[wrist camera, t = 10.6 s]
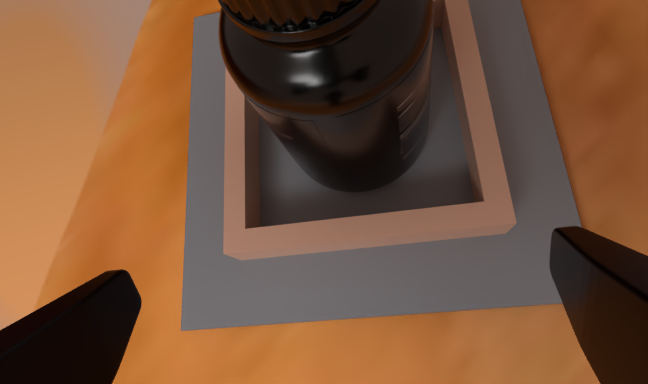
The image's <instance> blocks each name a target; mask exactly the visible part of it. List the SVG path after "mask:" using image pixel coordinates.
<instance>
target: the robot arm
mask: <svg viewBox="0 0 648 384" xmlns="http://www.w3.org/2000/svg"><path fill="white" fill-rule="evenodd" d="M549 267H550V272H551V276H552V278H553V281H554V283H555V286H556V288H557V291H558V293H559V295H560V298H561V300H562V303H563V305H564V308H565V310H566V313H567V315H568V318H569V320H570V323H571V325H572V328H573V330H574V332H575V335H576V337H577V339H578V342H579V344H580V346H581V348H582V350H583V352H584V354H585V356H586V358H587V360H588V362H589V363H590V365H591V367H592V369H593V371H594V373H595V374H596V376H597V378H598V380H599V382H600V383H601V384H648V256H646V255H644V254H642V253H639V252H637V251H635V250H632V249H630V248H628V247H626V246H623V245H621V244H619V243H616V242H614V241H612V240H609V239H607V238H605V237H602V236H600V235H598V234H595V233H593V232H591V231H589V230H586V229H584V228H582V227H579V226H568V227H558V228H555V229H554V230H553V232H552V234H551V246H550V260H549ZM140 309H141V297H140V294H139V292H138V290H137V288H136V286H135V284H134V282H133V280H132V278H131V276H130V274H129V273H128V272H127V271H126V270H111V271H106V272H104V273H102V274H101V275H99V276H97V277H95V278H93V279H92V280H90V281H88V282H86V283H84V284H83V285H81V286H79V287H77V288H75V289H74V290H72V291H70V292H68V293H66V294H65V295H63V296H61V297H59V298H57V299H56V300H54V301H52V302H50V303H49V304H47V305H45V306H43V307H41V308H40V309H38V310H36V311H34V312H32V313H31V314H29V315H27V316H25V317H23V318H22V319H20V320H18V321H16V322H15V323H13V324H11V325H9V326H7V327H6V328H4V329H2V330H0V384H112V383H113V380H114V378H115V376H116V374H117V371H118V369H119V367H120V364H121V361H122V359H123V356H124V353H125V350H126V348H127V345H128V342H129V339H130V337H131V334H132V331H133V328H134V326H135V323H136V320H137V317H138V315H139V312H140Z"/></svg>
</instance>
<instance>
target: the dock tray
mask: <svg viewBox="0 0 648 384" xmlns="http://www.w3.org/2000/svg"><path fill="white" fill-rule="evenodd" d="M433 9H434V23H433V46H432V69H431V91H430V114H429V126H428V133H427V138H426V141H425V145H424V147H423V149H422V152H421V153H420V155H419V157H418V158H417V160H416V161H415V163H414V164H413V165H412V166H411V167H410V169H408V170H407V171H406V172H405V173H404V174H403V175H402V176H401V177H399V178H398V179H396V180H395V181H393V182H392V183H390V184H388V185H386V186H383V187H381V188H378V189H375V190H371V191H366V192H342V191H337V190H333V189H330V188H328V187H325V186H323V185H321V184H319V183H318V182H316V181H314V180H313V179H312V178H311V177H309V176H308V175H307V174H306V173H305V172H304V171H303V170H302V169H301V167H300V166H299V165H298V164H297V163H296V161H295V160H294V159H293V158H292V156H291V155H290V154H289V152H288V151H287V150H286V149H285V147H284V146H283V145H282V143H281V142H280V141H279V140H278V138H277V137H276V136H275V134H274V133H273V132H272V131H271V129H270V128H269V127H268V125H267V124H266V123H265V122H264V120H263V119H262V118H261V116H260V115H259V114H258V113H257V111H256V110H255V109H254V107H253V106H252V105H251V104H250V102H249V101H248V100H247V98H246V97H245V96H244V94H243V93H242V92H241V91H240V89H239V88H238V86H237V85H236V83H235V82H234V80H233V79H232V77H231V76H230V74H229V72H228V70H227V68H226V66H225V64H224V61H223V58H222V55H221V50H220V45H219V17H220V12H218V13H213V14H209V15H204V16H199V17H194V32H193V55H192V79H191V103H190V127H189V151H188V175H187V198H186V222H185V246H184V270H183V294H182V318H181V331H185V330H200V329H214V328H228V327H242V326H255V325H269V324H283V323H297V322H311V321H325V320H339V319H353V318H367V317H380V316H394V315H408V314H422V313H436V312H450V311H464V310H478V309H491V308H505V307H519V306H533V305H547V304H561V303H562V300H561V298H560V295H559V293H558V291H557V288H556V286H555V283H554V281H553V278H552V276H551V272H550V267H549V260H550V246H551V234H552V232H553V230H554V229H555V228H558V227H568V226H579V227H582V226H581V222H580V219H579V215H578V211H577V207H576V204H575V200H574V196H573V193H572V189H571V185H570V182H569V178H568V174H567V170H566V167H565V163H564V159H563V156H562V152H561V148H560V145H559V141H558V137H557V133H556V130H555V126H554V122H553V119H552V115H551V111H550V107H549V104H548V100H547V96H546V93H545V89H544V85H543V82H542V78H541V74H540V70H539V67H538V63H537V59H536V56H535V52H534V48H533V45H532V41H531V37H530V33H529V30H528V26H527V22H526V19H525V15H524V11H523V8H522V4H521V0H433Z"/></svg>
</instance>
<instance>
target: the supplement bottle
mask: <svg viewBox="0 0 648 384" xmlns="http://www.w3.org/2000/svg"><path fill="white" fill-rule="evenodd" d="M218 1H219V3H220V5H221V11H220V17H219V45H220V50H221V55H222V58H223V61H224V64H225V66H226V68H227V70H228V72H229V74H230V76H231V77H232V79H233V80H234V82H235V83H236V85H237V86H238V88H239V89H240V91H241V92H242V93H243V94H244V96H245V97H246V98H247V100H248V101H249V102H250V104H251V105H252V106H253V107H254V109H255V110H256V111H257V113H258V114H259V115H260V116H261V118H262V119H263V120H264V122H265V123H266V124H267V125H268V127H269V128H270V129H271V131H272V132H273V133H274V134H275V136H276V137H277V138H278V140H279V141H280V142H281V143H282V145H283V146H284V147H285V149H286V150H287V151H288V152H289V154H290V155H291V156H292V158H293V159H294V160H295V161H296V163H297V164H298V165H299V166H300V167H301V169H302V170H303V171H304V172H305V173H306V174H307V175H308V176H309V177H311V178H312V179H313V180H314V181H316V182H318V183H319V184H321V185H323V186H325V187H328V188H330V189H333V190H337V191H342V192H366V191H371V190H375V189H378V188H381V187H383V186H386V185H388V184H390V183H392V182H393V181H395V180H396V179H398V178H399V177H401V176H402V175H403V174H404V173H405V172H406V171H407V170H408V169H410V167H411V166H412V165H413V164H414V163H415V161H416V160H417V158H418V157H419V155H420V153H421V152H422V149H423V147H424V145H425V141H426V138H427V133H428V126H429V114H430V91H431V69H432V46H433V23H434V9H433V0H218Z"/></svg>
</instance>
